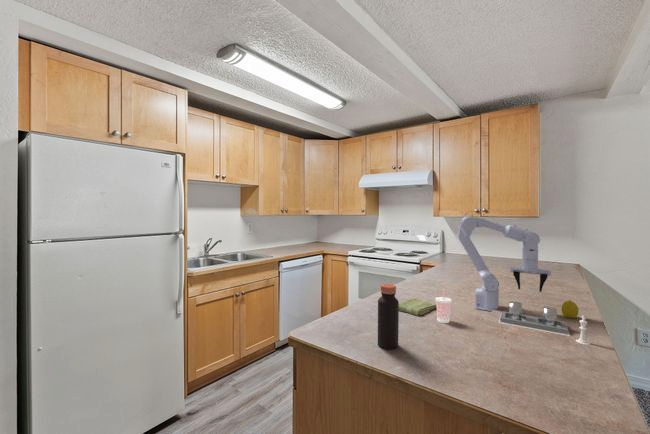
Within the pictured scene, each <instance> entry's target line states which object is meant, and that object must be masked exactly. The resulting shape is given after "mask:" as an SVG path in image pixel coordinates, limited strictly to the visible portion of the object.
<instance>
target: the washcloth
mask: <svg viewBox="0 0 650 434" xmlns="http://www.w3.org/2000/svg"><path fill="white" fill-rule="evenodd" d="M434 309H437V306H436V304H435V303H433V302H429V301H428V300H423V299H422V300H420V299H419V298H414V297H413V298H410V299H407V300H406V301H403V302H401V301H400V303H399V311H400V312H403V313H408V314H410V315H413V316H418V317H421V316H423V315H425V314H427V313H429V312H431V311H432V310H434Z"/></svg>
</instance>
